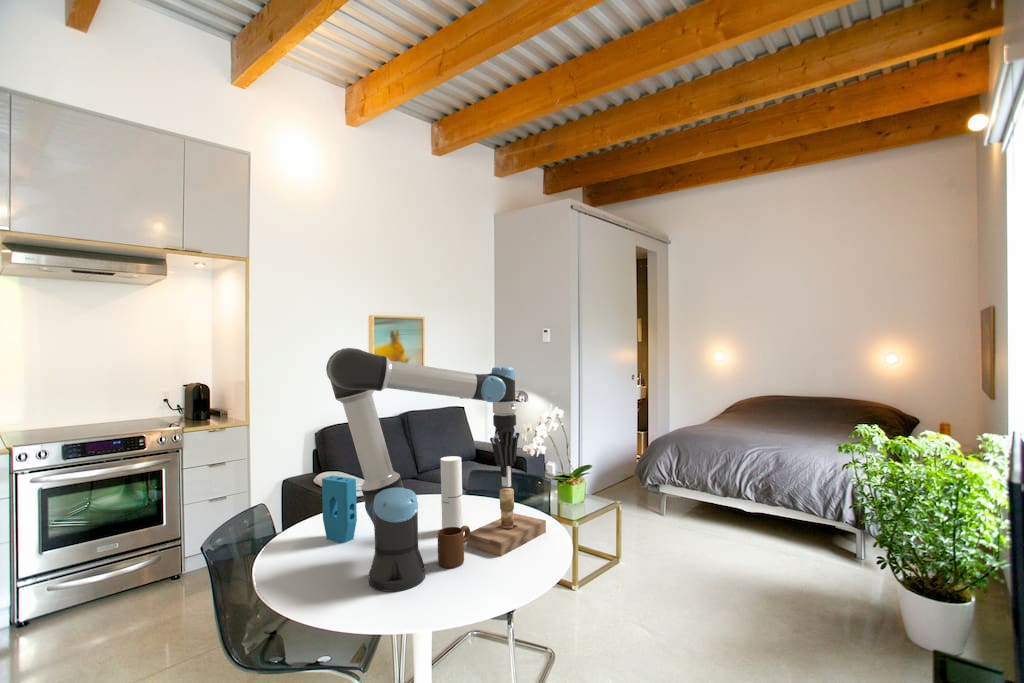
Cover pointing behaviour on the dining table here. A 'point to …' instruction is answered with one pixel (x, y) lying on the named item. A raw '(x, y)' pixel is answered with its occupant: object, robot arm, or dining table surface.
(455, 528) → the mug
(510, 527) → the oak peg
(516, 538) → the seat board
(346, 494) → the block
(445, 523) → the cylindrical container
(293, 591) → the dining table surface
